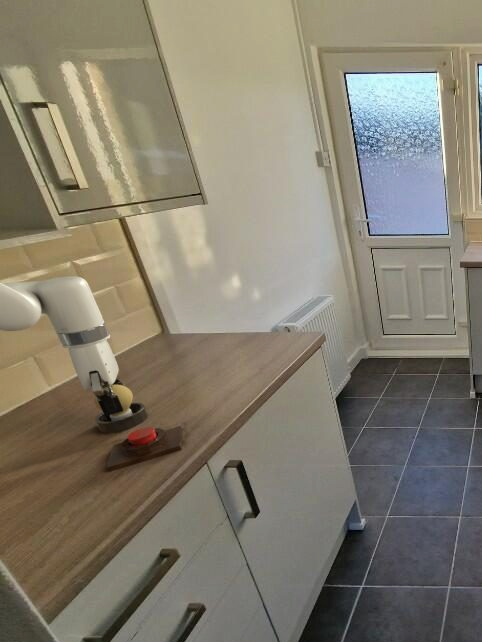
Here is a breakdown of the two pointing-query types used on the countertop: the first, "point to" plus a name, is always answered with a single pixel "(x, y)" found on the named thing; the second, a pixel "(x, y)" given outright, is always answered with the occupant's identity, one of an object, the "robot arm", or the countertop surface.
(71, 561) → the countertop surface
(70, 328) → the robot arm
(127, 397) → the light bulb
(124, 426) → the socket
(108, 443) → the countertop surface
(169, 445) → the switch block
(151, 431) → the switch button
